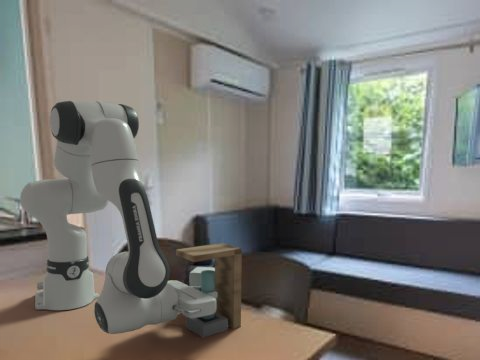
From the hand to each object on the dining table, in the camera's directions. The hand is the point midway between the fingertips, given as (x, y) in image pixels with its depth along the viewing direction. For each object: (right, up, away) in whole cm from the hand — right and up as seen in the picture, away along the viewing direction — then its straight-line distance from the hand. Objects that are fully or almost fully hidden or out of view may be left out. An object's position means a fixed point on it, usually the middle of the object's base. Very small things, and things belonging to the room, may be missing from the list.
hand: (210, 291), depth 103 cm
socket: (-1, -10, 0) cm, 10 cm away
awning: (-1, -10, 0) cm, 10 cm away
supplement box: (-3, -10, +12) cm, 16 cm away
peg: (-1, -7, 0) cm, 7 cm away
